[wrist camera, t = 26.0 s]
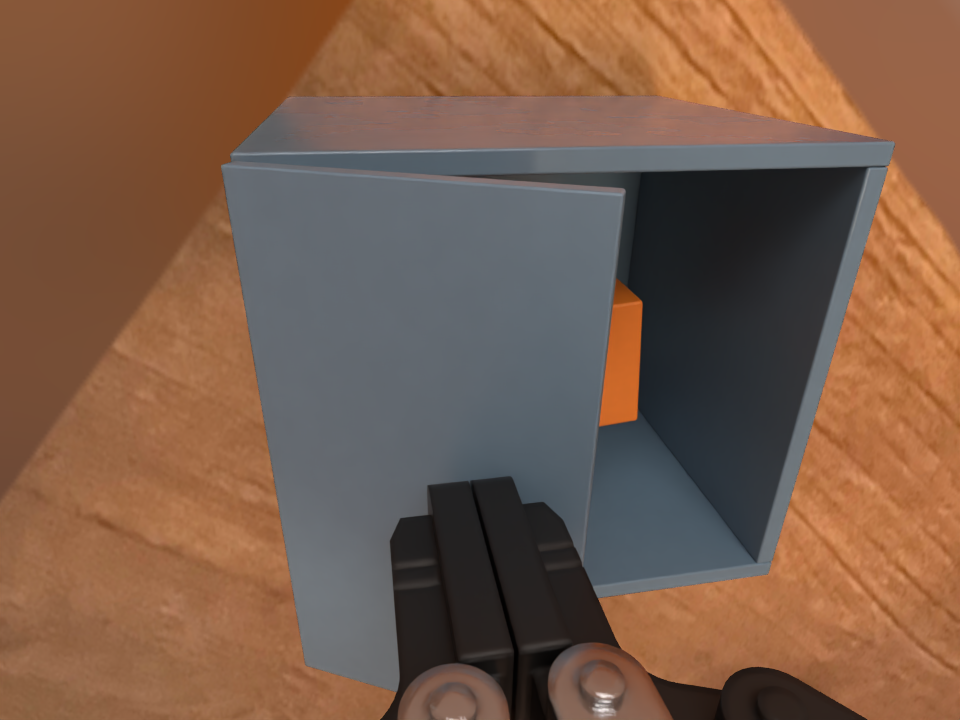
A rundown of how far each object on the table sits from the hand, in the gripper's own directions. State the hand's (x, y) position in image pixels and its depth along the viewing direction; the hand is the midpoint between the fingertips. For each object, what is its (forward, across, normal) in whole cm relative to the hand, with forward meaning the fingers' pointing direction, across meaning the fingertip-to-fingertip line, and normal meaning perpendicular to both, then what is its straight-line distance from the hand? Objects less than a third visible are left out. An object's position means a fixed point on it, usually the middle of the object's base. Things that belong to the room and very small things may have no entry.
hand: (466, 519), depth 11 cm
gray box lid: (+1, +1, 0) cm, 1 cm away
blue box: (+15, -3, 0) cm, 15 cm away
